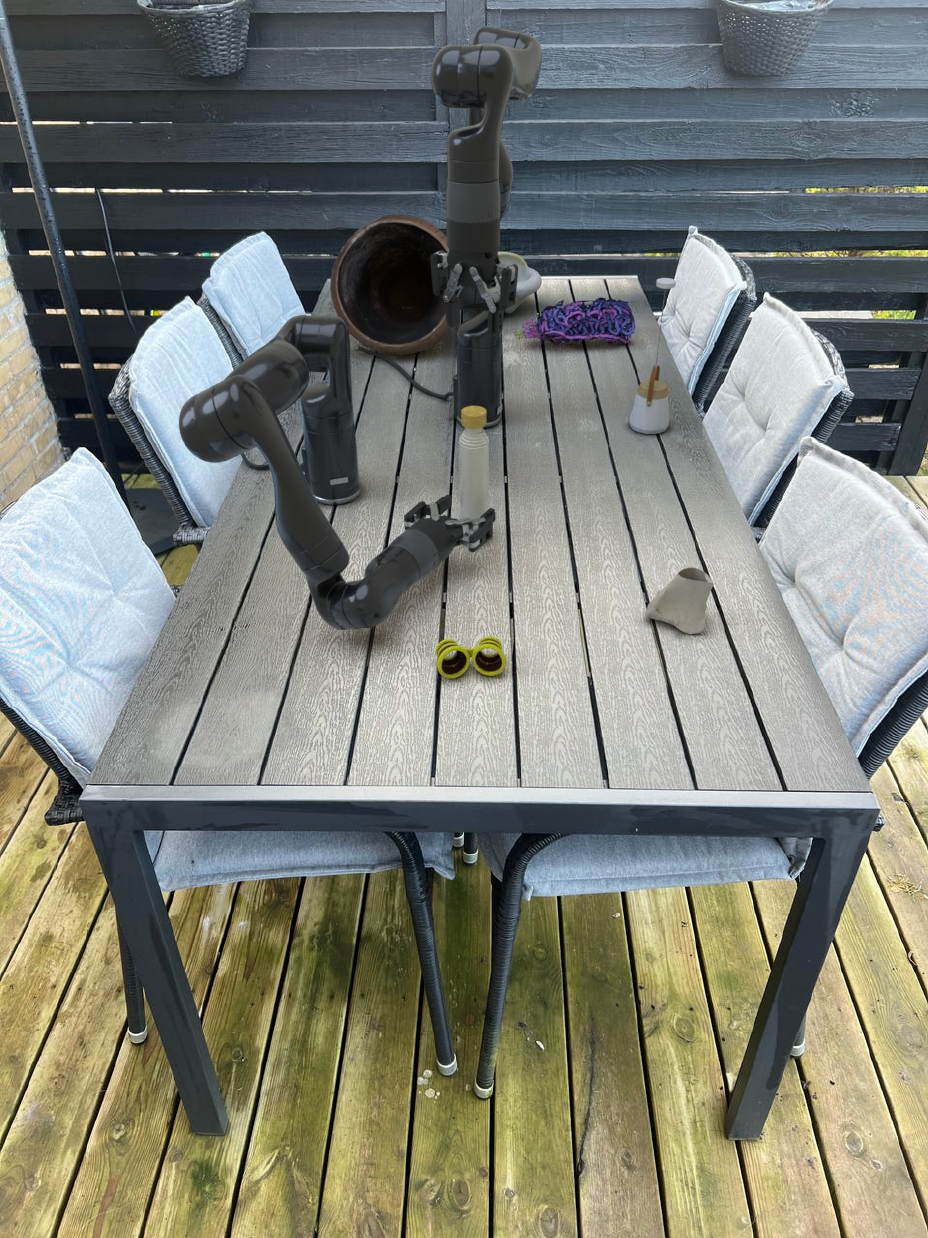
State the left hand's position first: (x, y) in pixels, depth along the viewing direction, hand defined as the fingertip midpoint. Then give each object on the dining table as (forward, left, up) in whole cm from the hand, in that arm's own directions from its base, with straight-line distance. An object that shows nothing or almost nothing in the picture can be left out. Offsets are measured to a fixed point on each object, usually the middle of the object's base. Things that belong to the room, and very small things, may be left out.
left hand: (471, 506), depth 157 cm
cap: (0, +1, +17) cm, 17 cm away
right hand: (0, +1, +30) cm, 30 cm away
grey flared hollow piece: (+39, -4, -7) cm, 40 cm away
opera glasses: (+18, -29, -7) cm, 35 cm away
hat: (-53, +103, -7) cm, 116 cm away
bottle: (0, +1, -7) cm, 7 cm away
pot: (-64, +72, -7) cm, 97 cm away
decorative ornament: (-25, +90, -7) cm, 94 cm away
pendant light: (+9, +57, -7) cm, 58 cm away
